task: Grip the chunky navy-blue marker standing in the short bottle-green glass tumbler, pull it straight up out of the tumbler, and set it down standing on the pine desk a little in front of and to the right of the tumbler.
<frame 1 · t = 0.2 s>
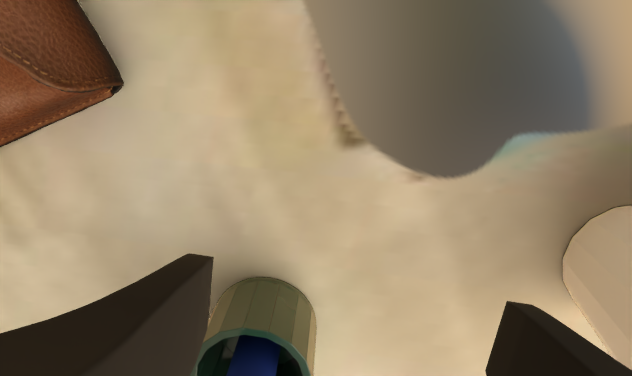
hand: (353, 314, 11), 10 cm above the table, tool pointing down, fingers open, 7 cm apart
tumbler: (264, 322, 23), on the table
shot glass: (622, 260, 22), on the table
blue marker: (263, 327, 23), resting on tumbler
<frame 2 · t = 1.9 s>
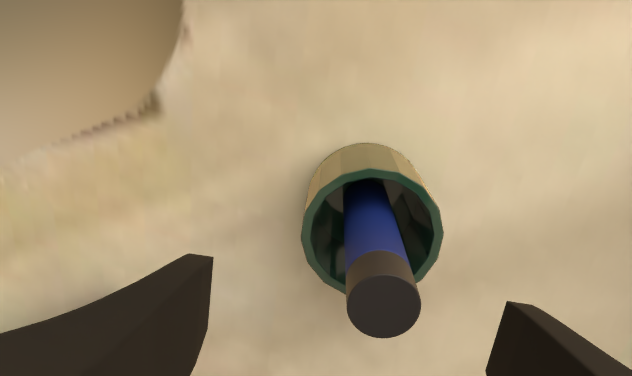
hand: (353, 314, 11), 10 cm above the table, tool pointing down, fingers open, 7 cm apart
tumbler: (365, 198, 21), on the table
blue marker: (365, 201, 21), resting on tumbler
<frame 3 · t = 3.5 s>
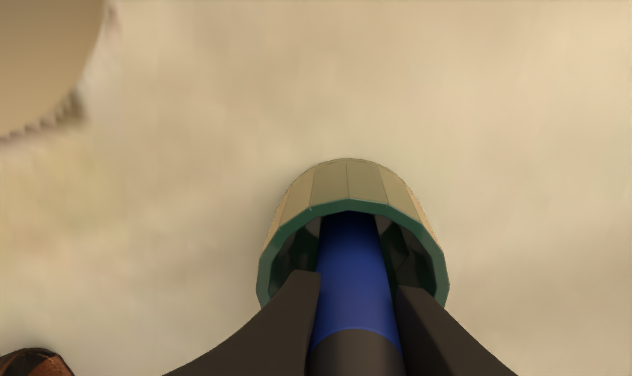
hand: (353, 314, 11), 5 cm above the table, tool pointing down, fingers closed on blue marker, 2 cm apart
tumbler: (348, 228, 17), on the table
blue marker: (348, 232, 16), resting on tumbler, touching gripper
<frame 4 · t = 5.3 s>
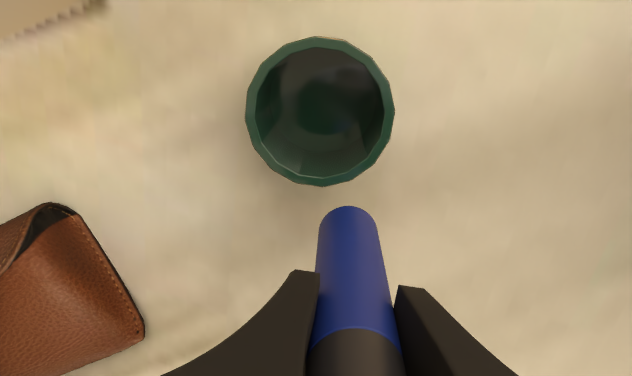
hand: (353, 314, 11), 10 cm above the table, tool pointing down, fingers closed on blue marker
tumbler: (322, 99, 20), on the table
blue marker: (347, 232, 16), point 5 cm above the table, touching gripper
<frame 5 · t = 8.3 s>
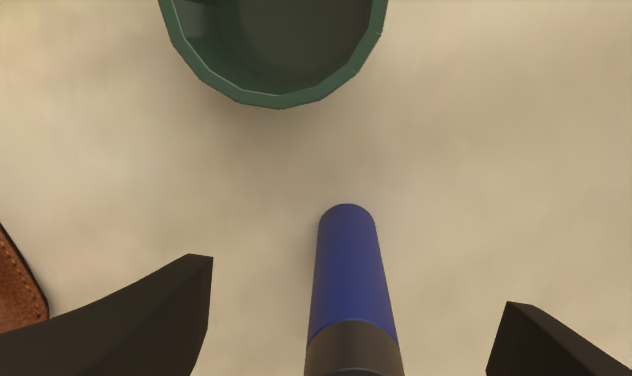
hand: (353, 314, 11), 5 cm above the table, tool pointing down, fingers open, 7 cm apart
tumbler: (290, 4, 14), on the table
blue marker: (346, 229, 17), on the table
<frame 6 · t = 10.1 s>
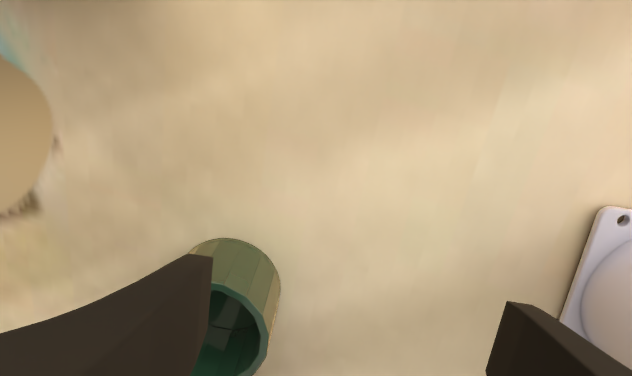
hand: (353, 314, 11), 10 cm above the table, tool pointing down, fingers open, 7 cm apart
tumbler: (228, 285, 23), on the table
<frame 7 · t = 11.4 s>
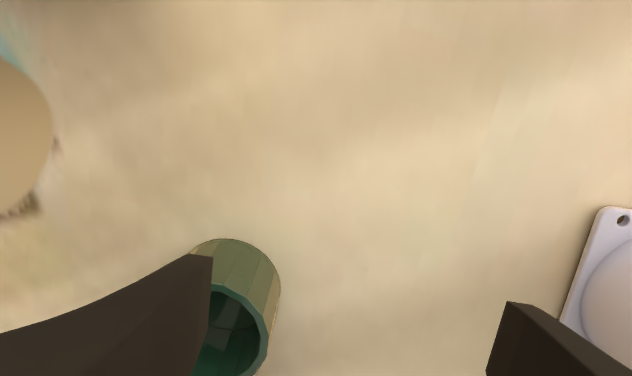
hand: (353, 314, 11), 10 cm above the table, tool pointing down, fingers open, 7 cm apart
tumbler: (228, 285, 23), on the table
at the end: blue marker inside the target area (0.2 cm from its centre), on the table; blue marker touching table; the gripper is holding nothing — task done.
